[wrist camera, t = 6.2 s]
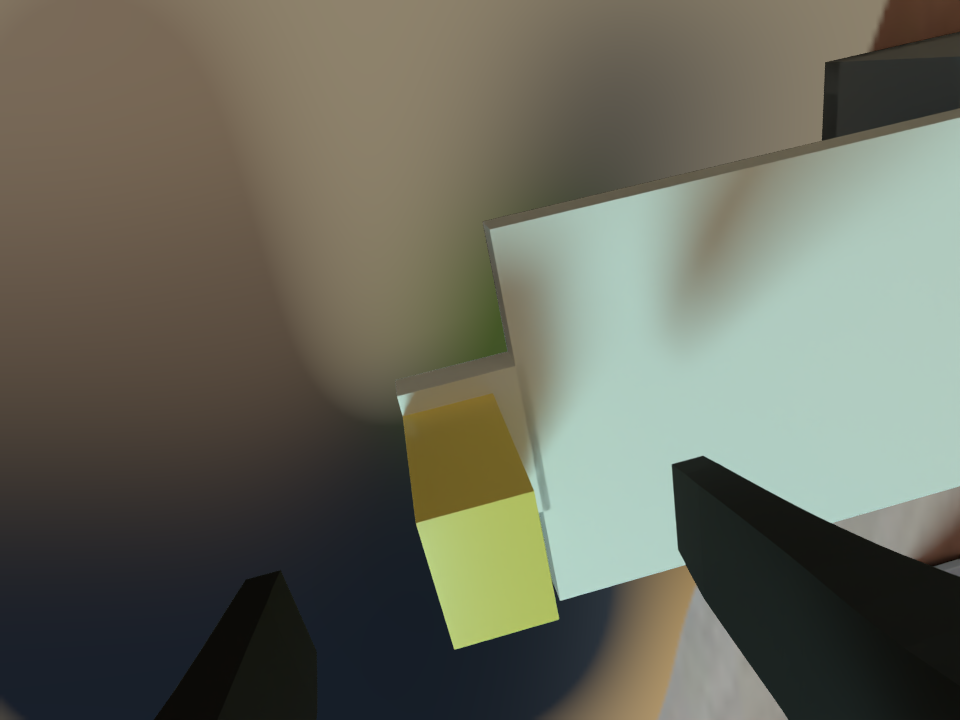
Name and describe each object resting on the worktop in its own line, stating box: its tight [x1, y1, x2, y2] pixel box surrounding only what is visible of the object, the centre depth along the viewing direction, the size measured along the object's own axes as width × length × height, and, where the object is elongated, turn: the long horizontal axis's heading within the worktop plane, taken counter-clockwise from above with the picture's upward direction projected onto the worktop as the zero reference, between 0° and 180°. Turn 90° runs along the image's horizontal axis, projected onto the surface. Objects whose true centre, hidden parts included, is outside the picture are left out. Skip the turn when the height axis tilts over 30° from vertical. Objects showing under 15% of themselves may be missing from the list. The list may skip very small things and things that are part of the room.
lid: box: [395, 108, 960, 649], centre depth 13 cm, size 10×17×4 cm, turn 101°
